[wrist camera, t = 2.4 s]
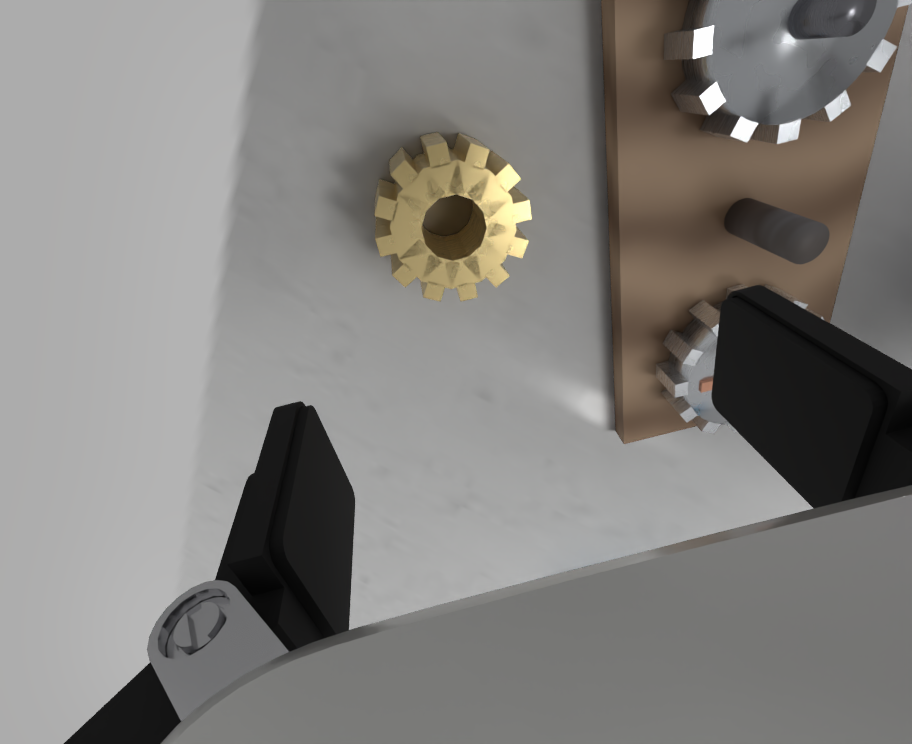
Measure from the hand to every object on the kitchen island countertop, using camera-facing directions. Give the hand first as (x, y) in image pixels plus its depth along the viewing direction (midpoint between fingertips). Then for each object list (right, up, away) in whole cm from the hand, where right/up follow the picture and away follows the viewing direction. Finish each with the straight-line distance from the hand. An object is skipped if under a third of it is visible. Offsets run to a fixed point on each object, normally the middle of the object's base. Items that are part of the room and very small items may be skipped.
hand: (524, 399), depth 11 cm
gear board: (+14, +10, +17) cm, 24 cm away
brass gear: (-2, +10, +15) cm, 18 cm away
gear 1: (+13, +17, +11) cm, 24 cm away
